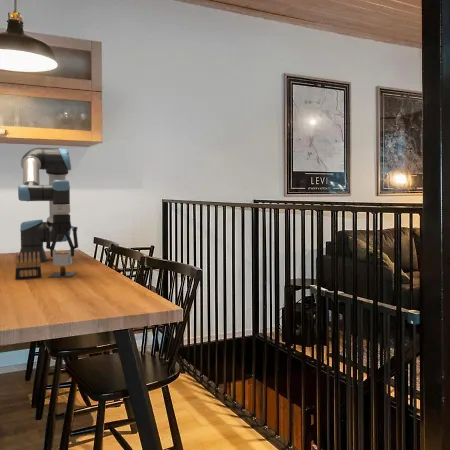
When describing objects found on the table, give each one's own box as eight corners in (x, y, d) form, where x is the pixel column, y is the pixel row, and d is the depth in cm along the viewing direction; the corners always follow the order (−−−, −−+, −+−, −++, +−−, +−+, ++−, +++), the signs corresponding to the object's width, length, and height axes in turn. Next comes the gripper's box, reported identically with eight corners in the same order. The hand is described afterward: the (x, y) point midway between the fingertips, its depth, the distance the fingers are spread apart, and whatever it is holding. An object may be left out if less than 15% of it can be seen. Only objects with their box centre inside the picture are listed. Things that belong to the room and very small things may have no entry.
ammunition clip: (15, 279, 207) (14, 252, 206) (15, 279, 209) (14, 252, 208) (41, 277, 212) (40, 251, 211) (41, 277, 213) (40, 250, 213)
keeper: (54, 273, 224) (54, 250, 223) (76, 273, 225) (76, 250, 224) (48, 277, 212) (47, 253, 211) (71, 277, 213) (70, 253, 212)
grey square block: (57, 263, 221) (56, 252, 221) (71, 263, 222) (71, 252, 221) (53, 265, 214) (53, 254, 214) (68, 265, 215) (68, 254, 215)
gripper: (37, 214, 212) (38, 265, 213) (81, 214, 214) (82, 264, 215) (41, 213, 219) (43, 263, 221) (84, 213, 222) (85, 262, 223)
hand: (62, 263), depth 218 cm, fingers closed on grey square block, 6 cm apart
